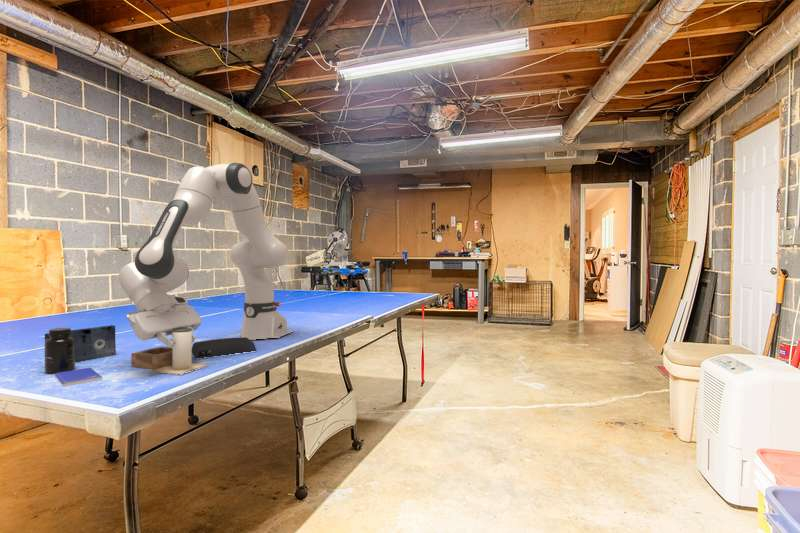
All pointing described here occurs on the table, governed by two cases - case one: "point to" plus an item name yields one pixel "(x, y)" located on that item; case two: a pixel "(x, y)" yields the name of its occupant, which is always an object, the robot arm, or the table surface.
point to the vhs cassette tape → (93, 342)
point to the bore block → (152, 358)
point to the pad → (179, 371)
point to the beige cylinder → (182, 348)
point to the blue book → (77, 376)
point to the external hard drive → (222, 347)
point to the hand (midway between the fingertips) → (182, 343)
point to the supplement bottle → (59, 351)
